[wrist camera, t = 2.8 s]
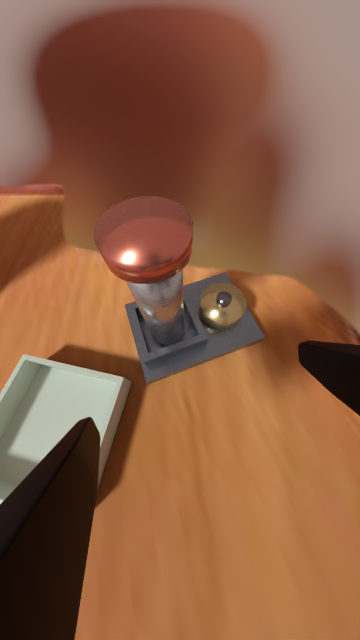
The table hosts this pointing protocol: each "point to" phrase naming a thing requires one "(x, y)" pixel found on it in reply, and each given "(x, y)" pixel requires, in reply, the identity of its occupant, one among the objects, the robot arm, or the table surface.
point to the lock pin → (150, 258)
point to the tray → (53, 413)
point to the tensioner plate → (198, 329)
